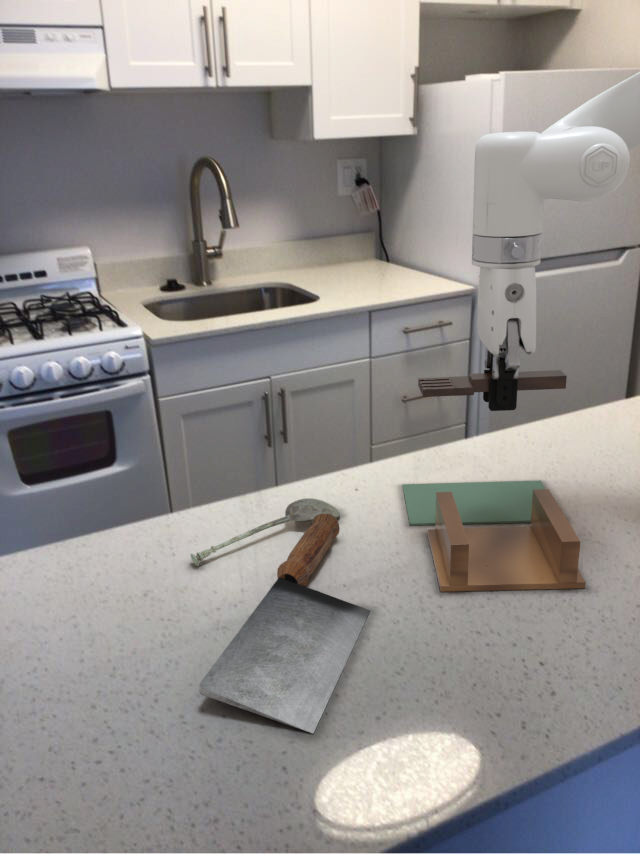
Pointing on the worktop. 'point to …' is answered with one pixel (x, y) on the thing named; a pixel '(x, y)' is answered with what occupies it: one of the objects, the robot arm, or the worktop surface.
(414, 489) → the mat
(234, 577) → the worktop surface
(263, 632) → the meat cleaver
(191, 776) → the worktop surface
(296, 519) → the soupspoon
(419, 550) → the worktop surface
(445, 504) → the rack
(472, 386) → the fork
